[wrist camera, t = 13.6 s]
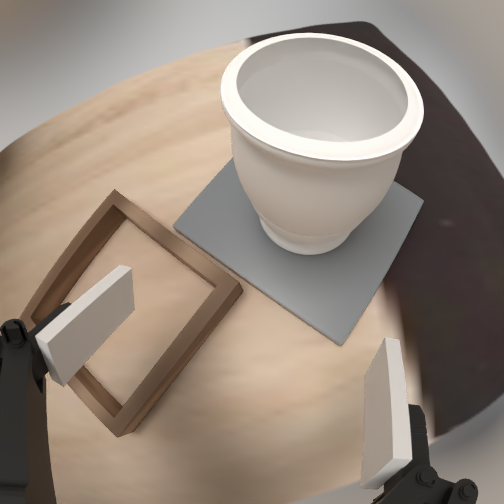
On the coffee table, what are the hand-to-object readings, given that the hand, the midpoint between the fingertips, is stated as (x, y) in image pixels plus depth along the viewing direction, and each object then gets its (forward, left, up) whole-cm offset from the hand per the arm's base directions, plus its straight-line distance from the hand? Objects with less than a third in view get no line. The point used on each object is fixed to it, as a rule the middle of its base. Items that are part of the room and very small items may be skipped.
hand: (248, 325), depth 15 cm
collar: (-11, -6, -11) cm, 17 cm away
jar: (-3, +11, -10) cm, 16 cm away
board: (-3, +11, -11) cm, 16 cm away
